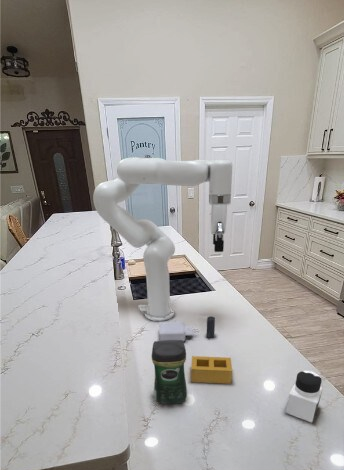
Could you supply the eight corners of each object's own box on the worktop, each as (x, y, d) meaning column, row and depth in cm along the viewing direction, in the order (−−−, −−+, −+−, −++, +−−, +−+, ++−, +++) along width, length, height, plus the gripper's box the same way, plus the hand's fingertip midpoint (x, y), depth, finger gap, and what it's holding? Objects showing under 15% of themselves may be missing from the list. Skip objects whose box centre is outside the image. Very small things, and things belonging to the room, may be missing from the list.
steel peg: (206, 338, 125) (207, 319, 122) (206, 334, 128) (207, 316, 124) (214, 338, 125) (215, 320, 121) (214, 334, 128) (215, 316, 124)
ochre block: (190, 382, 103) (191, 369, 100) (191, 368, 109) (192, 356, 106) (231, 383, 101) (232, 370, 99) (229, 370, 108) (230, 357, 105)
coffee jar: (185, 386, 101) (185, 334, 92) (187, 405, 94) (187, 350, 85) (154, 388, 100) (151, 336, 92) (153, 406, 93) (150, 351, 85)
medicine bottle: (312, 423, 87) (321, 388, 81) (285, 413, 90) (292, 378, 84) (318, 407, 92) (326, 372, 86) (292, 398, 95) (298, 364, 90)
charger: (199, 342, 123) (159, 343, 123) (197, 330, 131) (159, 331, 131) (199, 331, 120) (159, 332, 120) (197, 319, 129) (159, 320, 128)
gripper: (208, 196, 122) (207, 241, 130) (209, 203, 107) (208, 254, 115) (228, 195, 121) (226, 241, 129) (233, 203, 106) (230, 254, 114)
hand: (218, 247), depth 122 cm, fingers open, 9 cm apart
